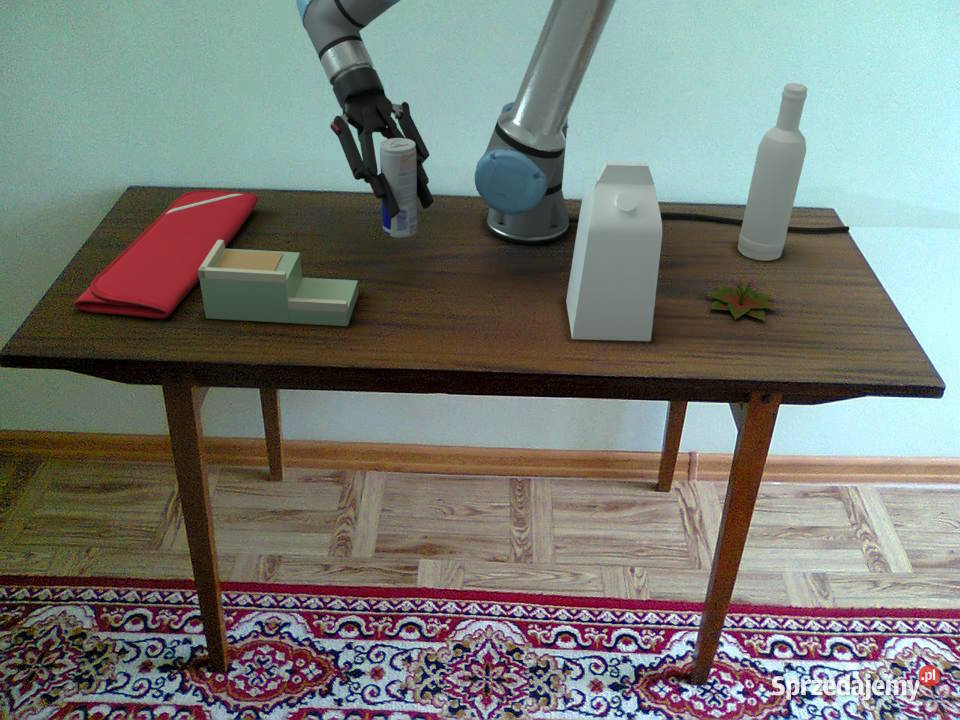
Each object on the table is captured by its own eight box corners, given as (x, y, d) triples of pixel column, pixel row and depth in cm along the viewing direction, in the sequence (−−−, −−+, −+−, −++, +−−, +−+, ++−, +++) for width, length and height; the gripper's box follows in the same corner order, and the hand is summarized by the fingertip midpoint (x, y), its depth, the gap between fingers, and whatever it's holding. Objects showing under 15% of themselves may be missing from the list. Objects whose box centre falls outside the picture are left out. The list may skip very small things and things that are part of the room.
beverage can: (420, 225, 151) (418, 137, 142) (414, 240, 146) (413, 151, 137) (386, 223, 151) (383, 135, 143) (380, 238, 146) (376, 148, 138)
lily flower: (782, 296, 152) (788, 272, 149) (772, 331, 143) (779, 306, 140) (709, 281, 155) (714, 257, 153) (696, 314, 146) (700, 289, 144)
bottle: (736, 258, 163) (771, 90, 146) (736, 238, 169) (770, 76, 152) (782, 264, 161) (823, 96, 145) (781, 244, 168) (820, 81, 151)
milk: (639, 302, 149) (662, 149, 134) (650, 341, 139) (676, 181, 125) (566, 300, 148) (580, 147, 134) (572, 339, 139) (588, 178, 124)
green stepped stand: (358, 293, 148) (356, 246, 144) (347, 326, 140) (344, 277, 135) (224, 286, 149) (217, 239, 144) (205, 318, 141) (197, 269, 136)
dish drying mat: (73, 311, 141) (67, 290, 139) (183, 203, 175) (180, 185, 173) (170, 322, 140) (166, 301, 137) (262, 210, 173) (260, 192, 171)
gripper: (394, 80, 153) (450, 205, 151) (293, 100, 143) (352, 233, 142) (411, 56, 146) (470, 186, 144) (307, 74, 137) (369, 214, 135)
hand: (412, 209), depth 143 cm, fingers closed on beverage can, 6 cm apart
